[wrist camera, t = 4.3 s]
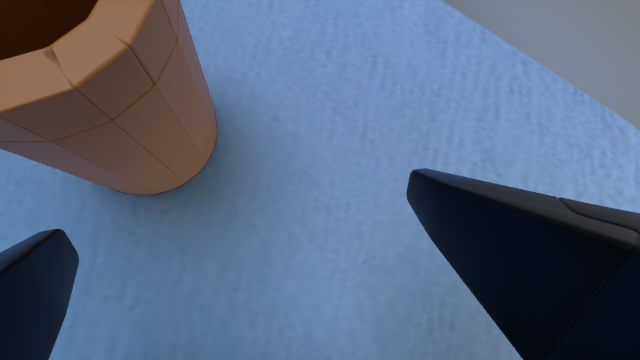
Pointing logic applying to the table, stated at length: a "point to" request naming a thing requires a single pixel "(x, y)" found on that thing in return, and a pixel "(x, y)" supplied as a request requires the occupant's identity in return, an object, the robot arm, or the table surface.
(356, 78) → the table surface
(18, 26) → the jar
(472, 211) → the robot arm
